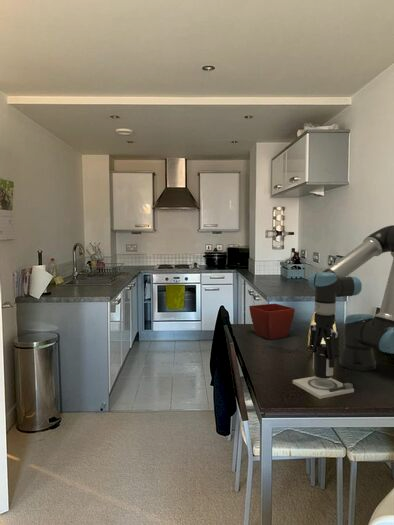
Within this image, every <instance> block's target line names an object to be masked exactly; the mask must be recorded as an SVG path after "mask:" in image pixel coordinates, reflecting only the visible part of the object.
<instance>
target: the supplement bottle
mask: <svg viewBox="0 0 394 525" xmlns="http://www.w3.org/2000/svg"><path fill="white" fill-rule="evenodd" d="M316 350H317V351H316V352H315V353H314V369H313V375H314V376H316V377H318V378H322V379H328V378H332V376H333V375H332V376H326V362H327V358H328V354H327V349H326V344H325V343H321V344H317V348H316ZM331 356H332V355H331ZM314 376H313V377H314Z"/></svg>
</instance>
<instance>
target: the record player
mask: <svg viewBox="0 0 394 525" xmlns="http://www.w3.org/2000/svg"><path fill="white" fill-rule="evenodd" d="M292 384H294V385H295V386H297V387H298V388H300V389H303V390H304V391H306V392H307V393H309V394H311V395H312V396H314V397H316V398H318V399H319V400H321V399H325V398H326V399H327V398H331V397H336V396H340V395H346V394H352V393H355V388H353V386H354V385H353V383H350V382H345V383H342V382H340V381H338V380H337V379H335V378H332V377H331V378H328V379H322V378H318V377H316V376H309V377H302V378H298V379H292Z"/></svg>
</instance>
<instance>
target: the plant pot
mask: <svg viewBox="0 0 394 525" xmlns="http://www.w3.org/2000/svg"><path fill="white" fill-rule="evenodd" d="M248 308H249V314H250V318H251V322H252V326H253V330H254V331H255V334H256V335H257V336H259V337H262V338H263V339H267V340H275V339H282V338H283V339H284V338H287V337H288V334H289V332H290V330H291V327H292V323H293V319H294V315H295V310H296V309H295V308H293V307H290V306H286V305H282V304H279V303H266V304H265V303H264V304H255V305H249V306H248Z"/></svg>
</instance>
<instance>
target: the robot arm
mask: <svg viewBox="0 0 394 525" xmlns="http://www.w3.org/2000/svg"><path fill="white" fill-rule="evenodd" d="M388 252H389V253H390V255H391V257H392V258H393V259H392V261H391V262H392V263H391V267H390V270H389V275H388V278H387V281H386V286H385V290H384V294H383V298H382V301H381V306H380V309H379V312H378V313H377V314H375V315H372V314H365V313H362V314H361V313H359V314H358V313H357V314H356V313H355V314H349V315H347V316H346V317H345V322H344V347H343V349H342V353H341V356H340V345H339V344H340V341H339V338H340V332H339V331H335V330H334V325H335V323H336V300H337V298H339V297H340V298H341V297H353V296H354V297H355V296H357V295H359V294H361V292H362V289H363V288H362V281H361V279H359V278H358V277H357V276H350V274H352V273H353V272H354V271H356V270H358V269H359V268H360V267H361V266H363V265H364V264H366V263H367V262H368V261H369V260H371V259H372V258H374V257H378V256H381V255H382V254H385V253H388ZM307 280H308V286H309V288H310V289H311V290H314V312H315V313H314V315H313V316H314V318H313V319H314V320H313V322H314V323H315V324H310V325H309V328H310V331H309V332H310V333H309V343H308V349H309V350H311V352H312V355H311V356H312V370H314V353H315V352H316V351H317V350H316V348H317V344H322V341H324V344H326V349H327V354H328V358H327V362H326V376H333V375H334V368H335V360H337V359H339V364H340V365H341V367H343V368H346V369H350V370H353V371H361V372H362V371H363V372H368V371H373V370H376V368H377V361H376V359H375V355H374V350H373V349H376V350H379V351H381V352H382V353H386V354H394V225H388V226H383V227H382V228H380V229H377V230H376V231H374V232H372V233H371V234H369V235H368V236H366V237H365V238H364V239H363V240H362V243H360V244H359V245H357V247H355V248H354V249H352V250H350V251H349V252H348V253H347V254H345V255H344V256H342V257H341V258H340V259H338V260H336V262H334V263H333V264H331V265H330V266H328V267H327V268H326V269H324V270H323V271H321V272H313V273H311V274H310V275H309V277H308V279H307ZM331 355H332V356H331Z"/></svg>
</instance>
